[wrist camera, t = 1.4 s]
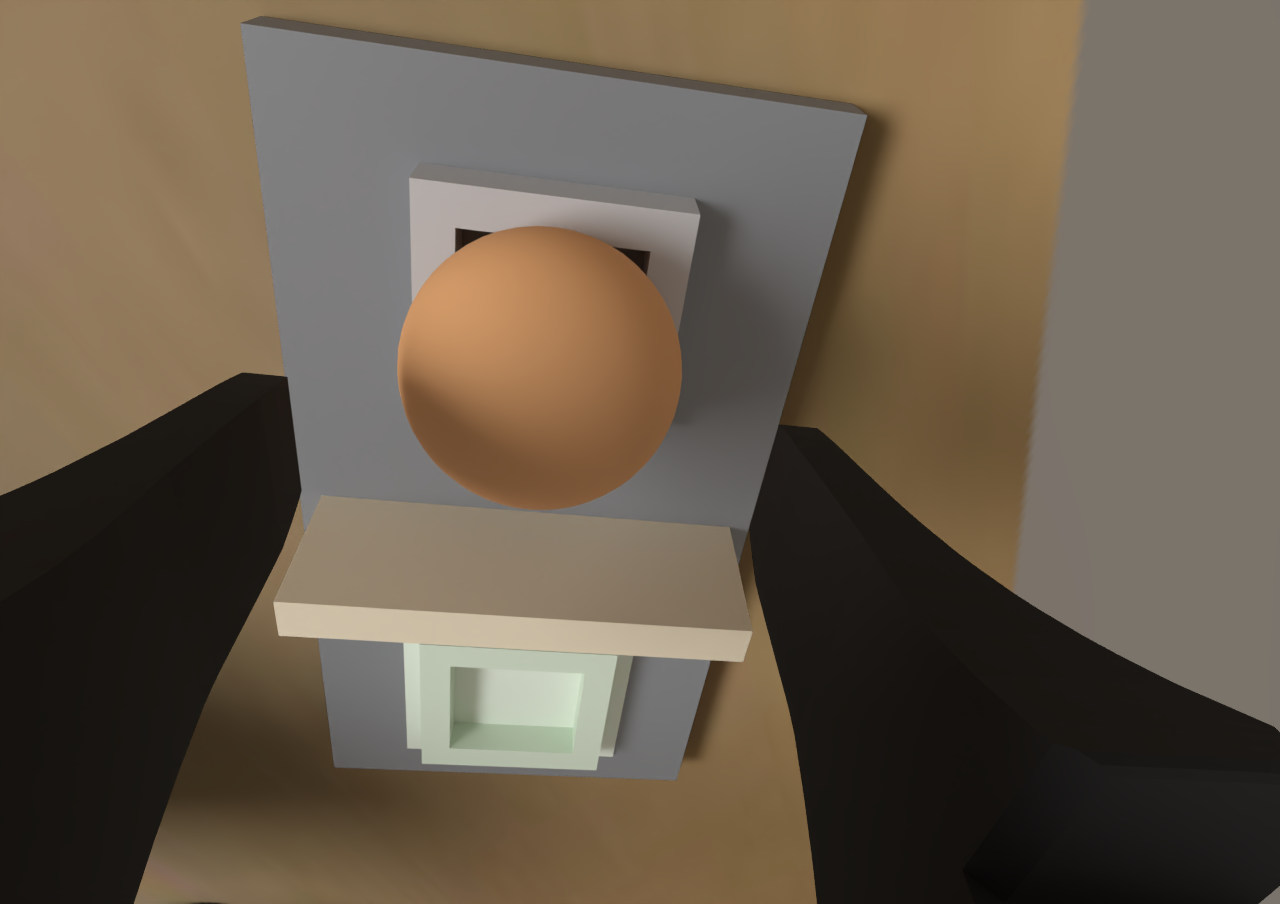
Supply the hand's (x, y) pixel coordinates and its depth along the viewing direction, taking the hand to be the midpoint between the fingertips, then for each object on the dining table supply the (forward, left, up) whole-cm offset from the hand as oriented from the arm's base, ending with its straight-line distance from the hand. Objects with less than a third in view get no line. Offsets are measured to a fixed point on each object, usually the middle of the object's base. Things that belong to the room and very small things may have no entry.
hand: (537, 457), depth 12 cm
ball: (0, 0, -3) cm, 3 cm away
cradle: (-12, 0, -7) cm, 14 cm away
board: (-6, 0, -7) cm, 9 cm away
